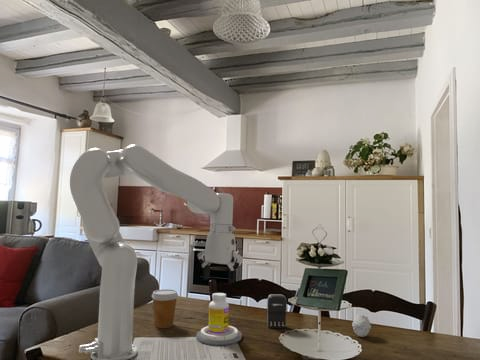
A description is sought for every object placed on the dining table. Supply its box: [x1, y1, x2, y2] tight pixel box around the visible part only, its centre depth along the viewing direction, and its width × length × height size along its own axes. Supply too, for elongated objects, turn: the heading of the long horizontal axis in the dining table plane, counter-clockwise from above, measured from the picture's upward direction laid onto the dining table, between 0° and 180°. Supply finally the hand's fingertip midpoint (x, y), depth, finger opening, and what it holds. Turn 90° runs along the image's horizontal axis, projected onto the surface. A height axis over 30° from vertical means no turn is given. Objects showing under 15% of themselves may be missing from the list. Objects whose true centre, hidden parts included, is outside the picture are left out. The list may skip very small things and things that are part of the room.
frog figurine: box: [351, 313, 372, 338], centre depth 121 cm, size 6×7×7 cm
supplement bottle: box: [207, 292, 230, 336], centre depth 118 cm, size 7×7×13 cm
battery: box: [266, 294, 288, 329], centre depth 129 cm, size 7×4×11 cm, turn 89°
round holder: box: [196, 325, 243, 347], centre depth 117 cm, size 15×15×2 cm
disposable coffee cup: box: [151, 288, 179, 329], centre depth 129 cm, size 10×10×12 cm
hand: (218, 280), depth 119 cm, fingers open, 9 cm apart
